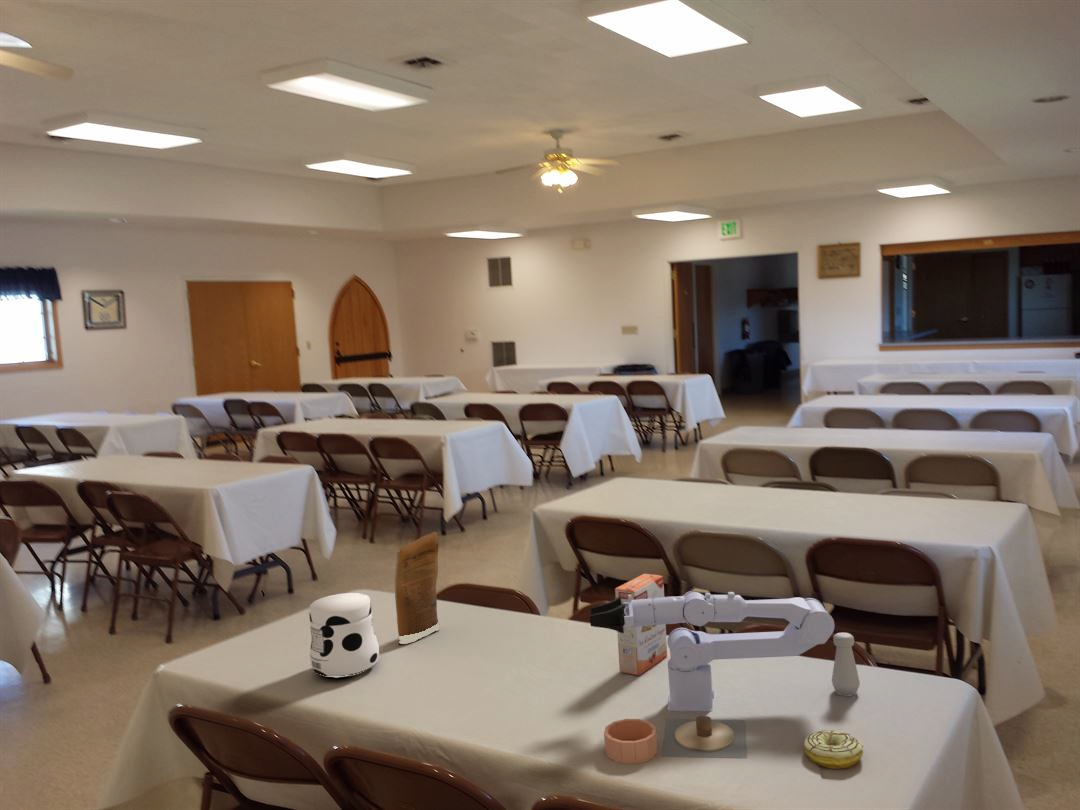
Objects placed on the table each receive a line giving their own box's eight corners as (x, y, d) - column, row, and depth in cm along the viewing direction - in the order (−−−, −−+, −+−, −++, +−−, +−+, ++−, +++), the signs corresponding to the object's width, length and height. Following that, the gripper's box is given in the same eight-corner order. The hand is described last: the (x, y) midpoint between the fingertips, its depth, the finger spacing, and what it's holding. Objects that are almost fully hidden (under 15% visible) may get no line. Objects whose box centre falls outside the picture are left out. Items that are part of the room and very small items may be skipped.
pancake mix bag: (453, 626, 258) (445, 531, 255) (407, 649, 243) (397, 548, 240) (436, 623, 262) (427, 529, 259) (389, 645, 247) (379, 545, 244)
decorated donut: (864, 747, 172) (863, 728, 172) (862, 775, 163) (861, 755, 162) (807, 741, 176) (807, 723, 176) (802, 768, 166) (801, 748, 166)
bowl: (658, 740, 181) (657, 719, 180) (655, 765, 171) (654, 743, 171) (609, 739, 183) (607, 718, 182) (603, 764, 173) (601, 742, 173)
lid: (733, 724, 185) (732, 706, 184) (734, 752, 173) (733, 733, 173) (676, 723, 187) (675, 706, 186) (673, 750, 176) (672, 732, 175)
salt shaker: (838, 684, 201) (835, 627, 199) (864, 689, 197) (861, 632, 196) (828, 694, 196) (825, 636, 195) (854, 699, 192) (851, 640, 191)
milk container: (388, 656, 239) (381, 590, 237) (369, 683, 222) (362, 611, 220) (325, 658, 241) (318, 593, 239) (301, 685, 224) (294, 614, 222)
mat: (744, 721, 186) (744, 719, 186) (746, 760, 171) (746, 758, 171) (666, 720, 189) (666, 718, 189) (661, 758, 174) (661, 756, 174)
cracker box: (640, 677, 213) (634, 591, 211) (618, 672, 216) (612, 587, 214) (669, 657, 224) (664, 574, 222) (648, 652, 227) (643, 572, 225)
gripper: (650, 586, 202) (589, 591, 203) (653, 600, 188) (587, 605, 189) (653, 618, 202) (592, 623, 203) (656, 634, 188) (591, 639, 189)
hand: (590, 616), depth 196 cm, fingers open, 7 cm apart
